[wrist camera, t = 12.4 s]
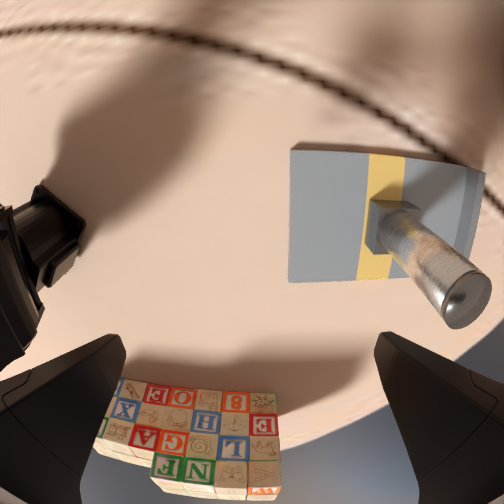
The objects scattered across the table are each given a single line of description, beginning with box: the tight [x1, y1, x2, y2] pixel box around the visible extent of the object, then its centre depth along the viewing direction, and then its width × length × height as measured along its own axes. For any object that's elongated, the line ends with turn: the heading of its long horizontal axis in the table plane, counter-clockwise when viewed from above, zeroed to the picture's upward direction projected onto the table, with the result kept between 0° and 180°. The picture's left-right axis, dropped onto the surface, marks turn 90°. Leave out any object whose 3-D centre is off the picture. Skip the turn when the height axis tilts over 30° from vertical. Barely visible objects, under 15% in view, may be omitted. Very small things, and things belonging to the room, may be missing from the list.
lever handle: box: [364, 200, 492, 329], centre depth 15 cm, size 3×3×11 cm
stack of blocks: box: [93, 378, 281, 500], centre depth 25 cm, size 21×6×12 cm, turn 88°
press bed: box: [288, 149, 486, 283], centre depth 19 cm, size 16×10×2 cm, turn 92°
